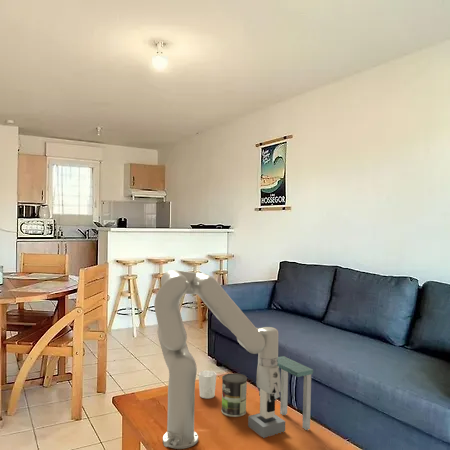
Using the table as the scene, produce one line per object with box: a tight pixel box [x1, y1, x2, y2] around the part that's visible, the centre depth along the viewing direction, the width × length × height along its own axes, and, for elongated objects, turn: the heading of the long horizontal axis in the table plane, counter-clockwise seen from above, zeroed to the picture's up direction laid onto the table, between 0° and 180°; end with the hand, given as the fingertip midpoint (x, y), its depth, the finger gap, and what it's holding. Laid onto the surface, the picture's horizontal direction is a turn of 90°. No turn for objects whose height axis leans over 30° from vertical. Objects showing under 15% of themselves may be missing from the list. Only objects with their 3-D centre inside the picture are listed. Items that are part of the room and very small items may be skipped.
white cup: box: [198, 369, 217, 399], centre depth 193 cm, size 8×8×10 cm
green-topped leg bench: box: [278, 355, 314, 431], centre depth 168 cm, size 8×18×23 cm, turn 30°
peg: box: [259, 389, 276, 419], centre depth 163 cm, size 4×4×10 cm
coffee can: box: [221, 372, 248, 418], centre depth 177 cm, size 10×10×14 cm
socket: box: [247, 412, 286, 439], centre depth 163 cm, size 10×10×4 cm
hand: (267, 408), depth 163 cm, fingers closed on peg, 4 cm apart
